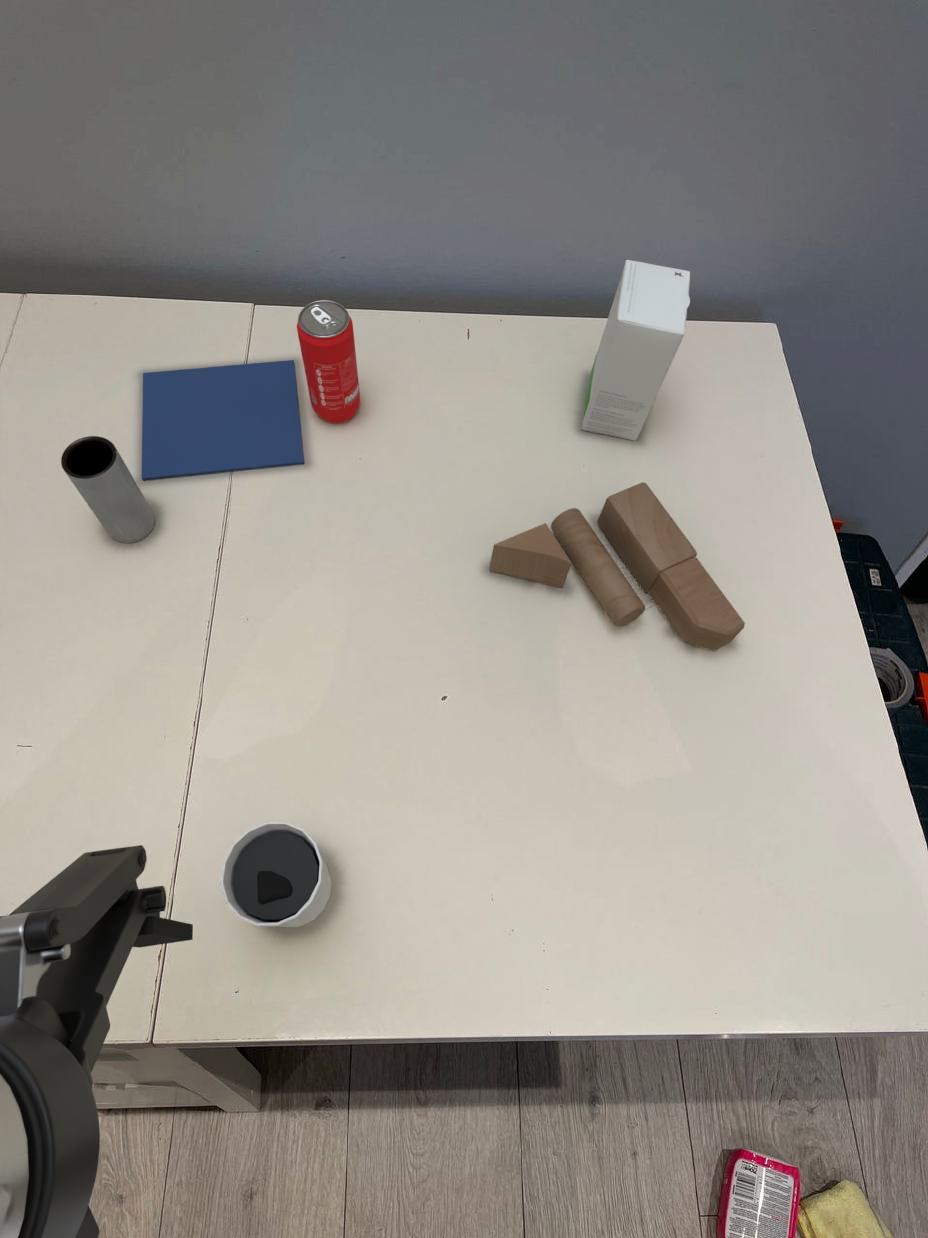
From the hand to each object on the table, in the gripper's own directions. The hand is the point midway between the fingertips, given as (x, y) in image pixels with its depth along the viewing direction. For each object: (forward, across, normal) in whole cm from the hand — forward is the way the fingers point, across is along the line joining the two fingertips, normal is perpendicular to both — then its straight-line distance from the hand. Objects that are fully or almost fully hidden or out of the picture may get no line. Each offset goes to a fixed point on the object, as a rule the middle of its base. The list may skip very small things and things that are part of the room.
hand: (162, 1085), depth 36 cm
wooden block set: (+19, +32, -34) cm, 51 cm away
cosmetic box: (+19, +56, -41) cm, 71 cm away
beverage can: (+19, +59, -11) cm, 63 cm away
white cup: (+19, +11, -4) cm, 22 cm away
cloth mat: (+19, +58, +1) cm, 61 cm away
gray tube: (+19, +46, +10) cm, 51 cm away
